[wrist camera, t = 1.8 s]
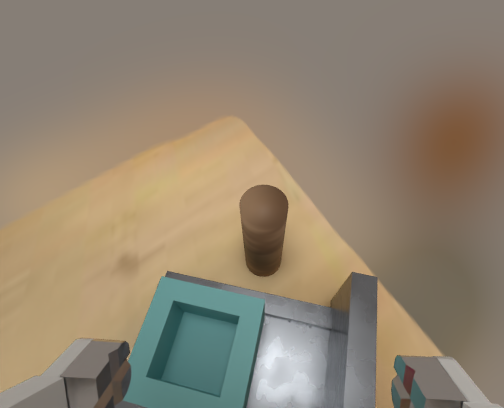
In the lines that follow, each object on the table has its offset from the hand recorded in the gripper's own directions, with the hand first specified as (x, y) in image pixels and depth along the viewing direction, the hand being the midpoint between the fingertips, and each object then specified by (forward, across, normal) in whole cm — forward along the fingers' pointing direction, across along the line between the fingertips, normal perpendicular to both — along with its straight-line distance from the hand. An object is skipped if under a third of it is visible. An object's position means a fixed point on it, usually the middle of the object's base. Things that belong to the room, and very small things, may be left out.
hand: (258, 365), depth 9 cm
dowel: (+25, 0, +7) cm, 26 cm away
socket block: (+17, +5, +14) cm, 22 cm away
